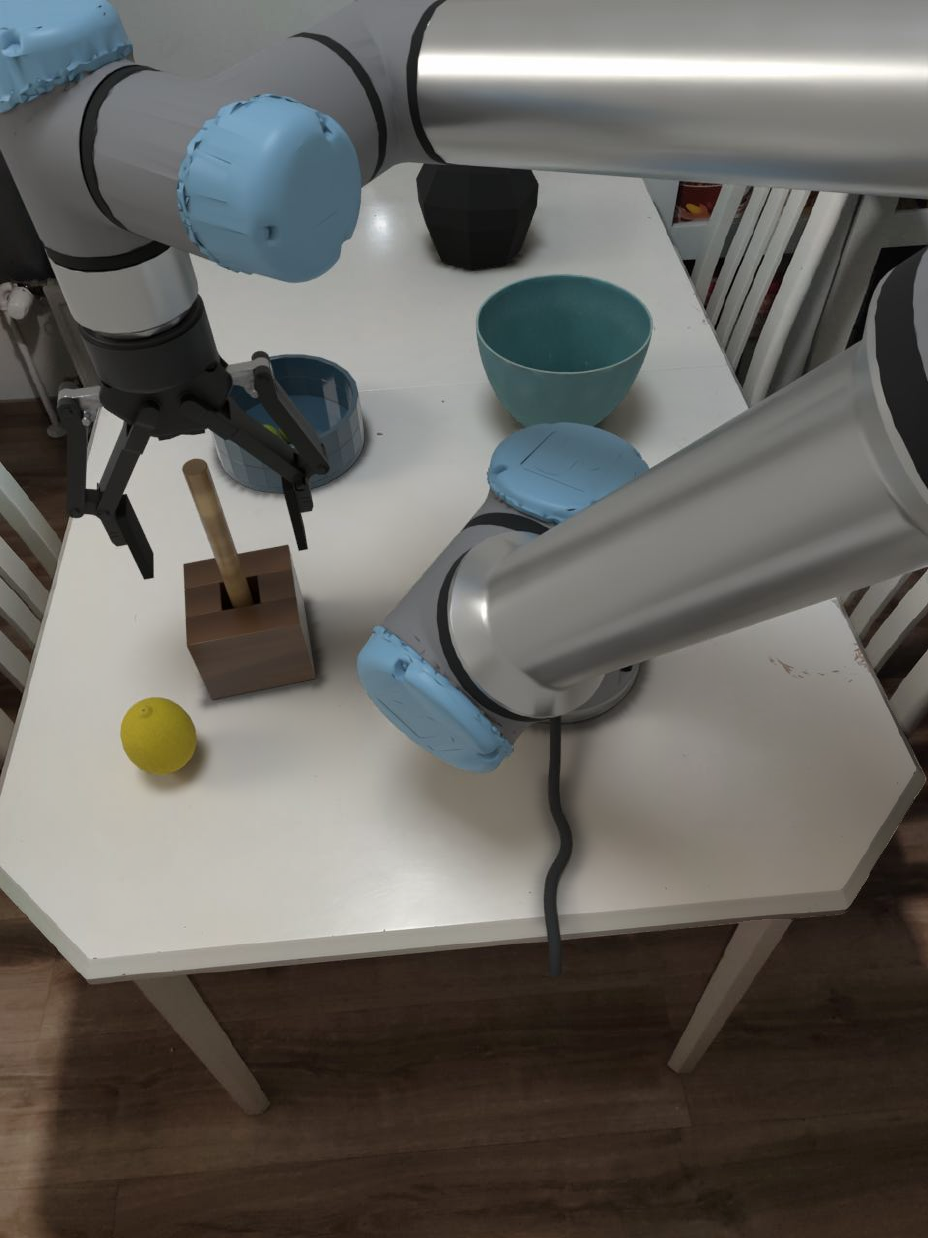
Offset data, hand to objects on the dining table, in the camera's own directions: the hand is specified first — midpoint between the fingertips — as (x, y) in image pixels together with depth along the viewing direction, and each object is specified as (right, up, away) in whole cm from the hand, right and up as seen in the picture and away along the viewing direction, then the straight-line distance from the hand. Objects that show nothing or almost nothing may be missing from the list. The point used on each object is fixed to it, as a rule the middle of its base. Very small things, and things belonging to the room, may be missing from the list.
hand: (226, 552), depth 69 cm
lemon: (-5, -17, +3) cm, 18 cm away
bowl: (0, +14, +28) cm, 32 cm away
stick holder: (0, -8, +10) cm, 13 cm away
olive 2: (0, +15, +26) cm, 30 cm away
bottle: (+21, +47, +53) cm, 74 cm away
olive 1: (-3, +14, +25) cm, 29 cm away
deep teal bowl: (+30, +18, +30) cm, 46 cm away
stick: (0, -8, +10) cm, 13 cm away
